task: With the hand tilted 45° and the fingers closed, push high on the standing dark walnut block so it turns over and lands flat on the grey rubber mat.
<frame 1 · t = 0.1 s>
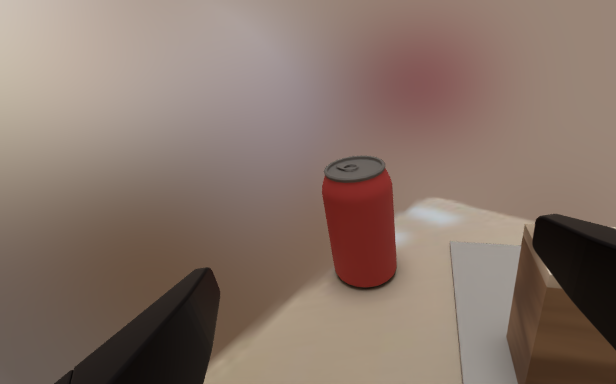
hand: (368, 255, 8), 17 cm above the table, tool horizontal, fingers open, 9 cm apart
walnut block: (554, 372, 19), resting on rubber mat
rubber mat: (530, 311, 24), on the table
beer can: (365, 270, 32), on the table
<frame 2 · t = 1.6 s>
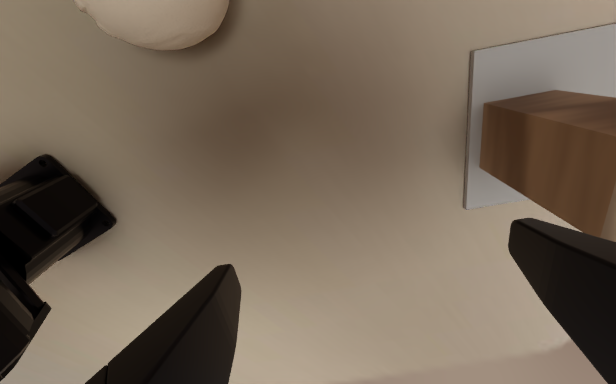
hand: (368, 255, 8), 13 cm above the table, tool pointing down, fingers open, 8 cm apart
walnut block: (515, 130, 20), resting on rubber mat
rubber mat: (594, 115, 20), on the table
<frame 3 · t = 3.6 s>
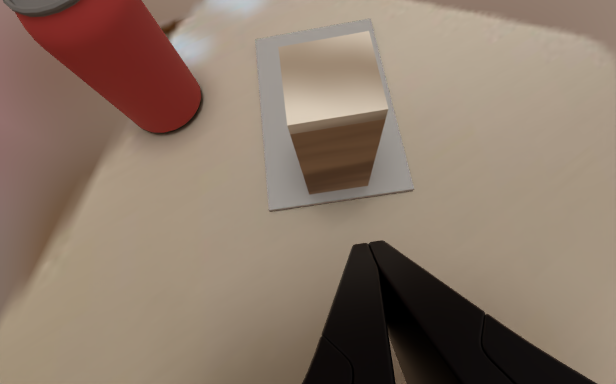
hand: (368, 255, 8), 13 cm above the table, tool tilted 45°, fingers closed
walnut block: (334, 163, 23), resting on rubber mat
rubber mat: (325, 107, 25), on the table
beer can: (170, 105, 27), on the table
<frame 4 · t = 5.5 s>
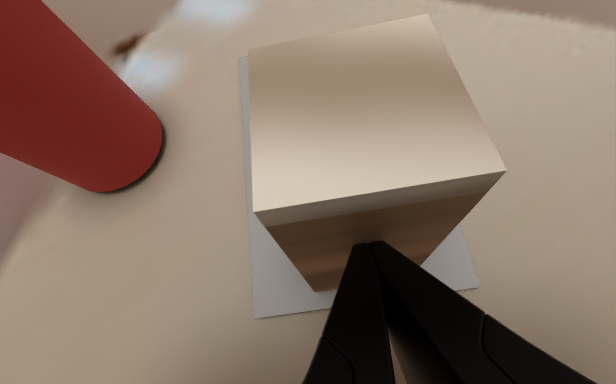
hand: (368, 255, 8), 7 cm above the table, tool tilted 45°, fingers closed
walnut block: (352, 240, 15), point 1 cm above the table, tilted 7°, touching rubber mat
rubber mat: (336, 153, 18), on the table
beer can: (122, 150, 20), on the table
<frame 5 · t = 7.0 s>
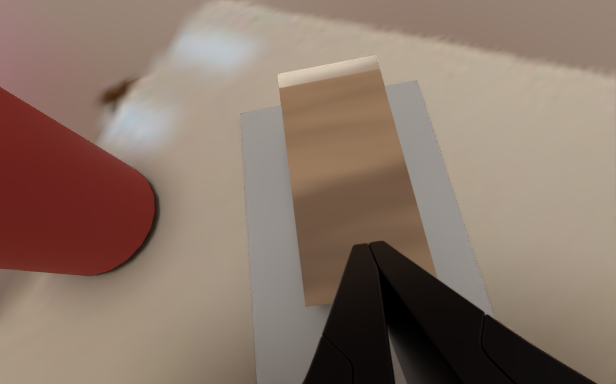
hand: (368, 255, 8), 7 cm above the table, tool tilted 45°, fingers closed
walnut block: (367, 297, 12), point 3 cm above the table, tilted 90°, touching rubber mat
rubber mat: (352, 233, 16), on the table
beer can: (110, 220, 18), on the table
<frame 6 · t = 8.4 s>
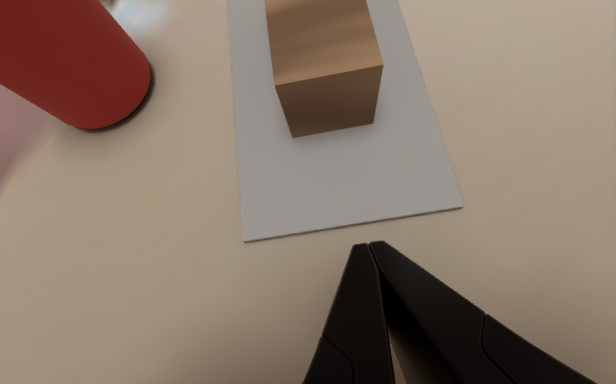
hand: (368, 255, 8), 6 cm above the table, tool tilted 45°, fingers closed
walnut block: (330, 107, 14), point 3 cm above the table, tilted 90°, touching rubber mat
rubber mat: (324, 87, 18), on the table
beer can: (111, 91, 20), on the table
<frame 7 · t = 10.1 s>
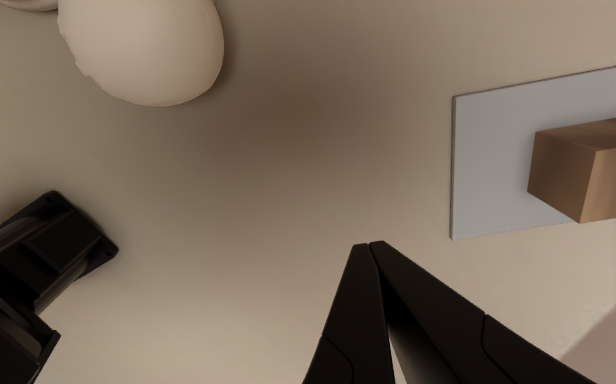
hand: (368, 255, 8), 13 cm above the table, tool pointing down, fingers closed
walnut block: (556, 174, 19), point 3 cm above the table, tilted 90°, touching rubber mat
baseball: (175, 39, 18), on the table
rubber mat: (573, 153, 21), on the table
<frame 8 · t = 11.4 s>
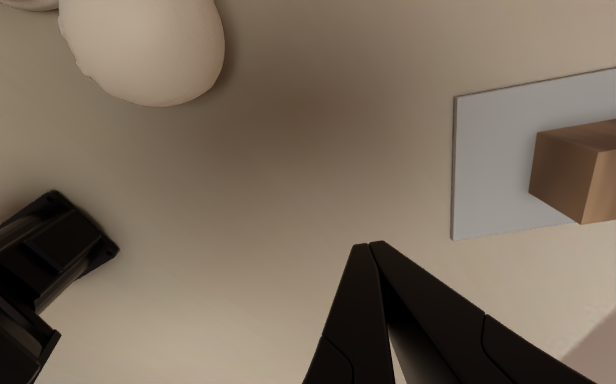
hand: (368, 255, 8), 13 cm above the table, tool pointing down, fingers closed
walnut block: (557, 175, 18), point 3 cm above the table, tilted 90°, touching rubber mat
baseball: (175, 39, 18), on the table
rubber mat: (575, 154, 21), on the table
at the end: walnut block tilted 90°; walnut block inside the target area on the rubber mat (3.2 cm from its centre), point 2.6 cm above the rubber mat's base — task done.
